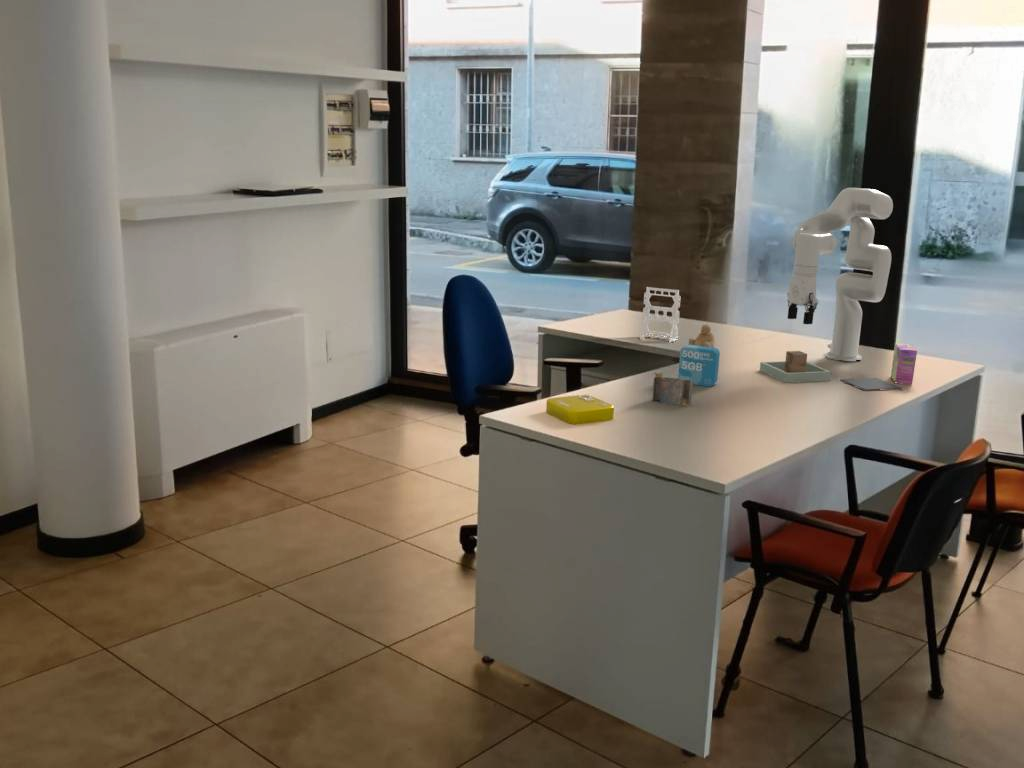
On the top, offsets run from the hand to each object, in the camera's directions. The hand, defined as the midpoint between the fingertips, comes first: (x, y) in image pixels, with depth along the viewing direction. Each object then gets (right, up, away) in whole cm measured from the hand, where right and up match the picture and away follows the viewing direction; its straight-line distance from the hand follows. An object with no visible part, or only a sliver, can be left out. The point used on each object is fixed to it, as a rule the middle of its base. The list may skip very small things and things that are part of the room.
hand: (799, 321), depth 354 cm
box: (+36, -20, +4) cm, 41 cm away
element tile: (-78, -31, -53) cm, 99 cm away
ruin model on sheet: (-49, -27, -36) cm, 66 cm away
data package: (-36, -21, -11) cm, 43 cm away
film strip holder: (-39, -4, +58) cm, 70 cm away
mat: (+22, -21, -4) cm, 31 cm away
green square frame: (0, -18, +5) cm, 19 cm away
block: (0, -18, +5) cm, 19 cm away
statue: (-29, -12, +25) cm, 40 cm away
